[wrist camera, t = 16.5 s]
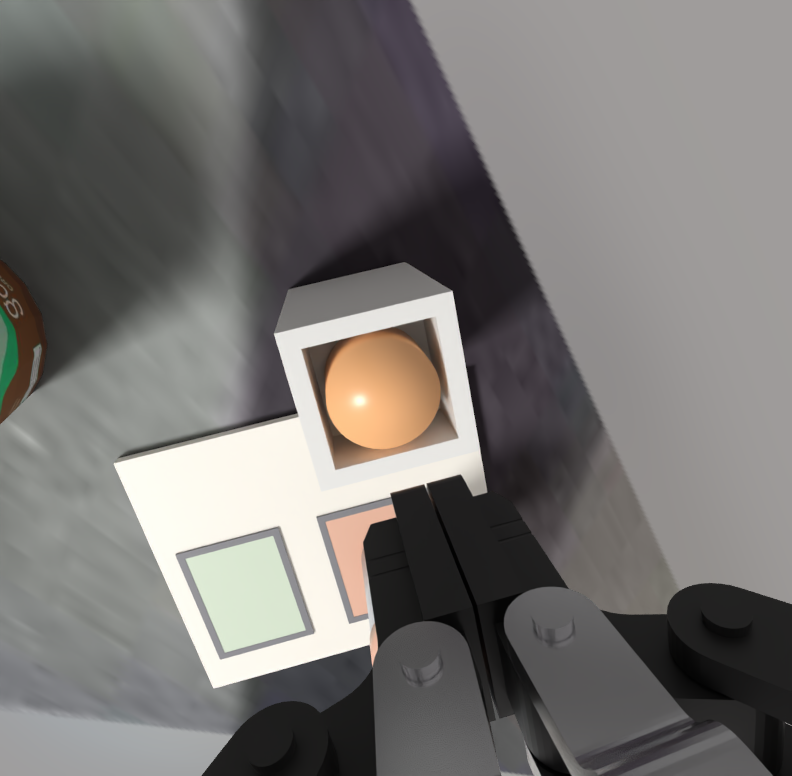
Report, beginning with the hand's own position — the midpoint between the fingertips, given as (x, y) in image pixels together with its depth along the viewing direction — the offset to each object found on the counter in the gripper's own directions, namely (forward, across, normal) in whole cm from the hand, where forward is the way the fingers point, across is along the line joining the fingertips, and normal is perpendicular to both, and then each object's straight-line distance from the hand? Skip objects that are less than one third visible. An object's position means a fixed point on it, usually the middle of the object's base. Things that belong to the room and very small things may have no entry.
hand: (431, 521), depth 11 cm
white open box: (+18, 0, 0) cm, 18 cm away
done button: (+10, 0, 0) cm, 10 cm away
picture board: (+18, +4, +12) cm, 22 cm away
